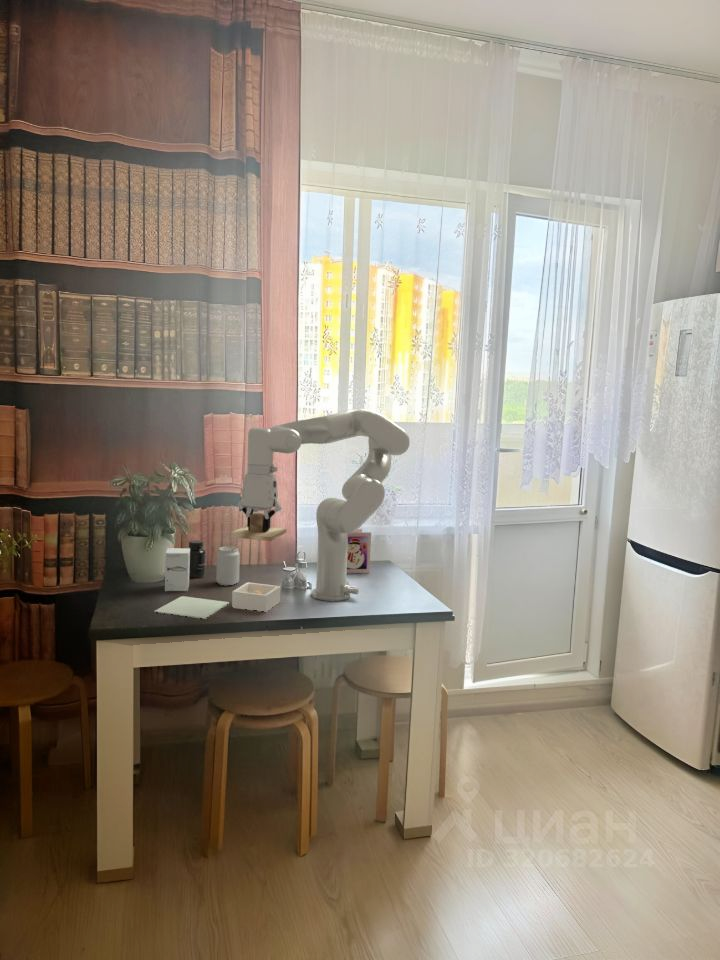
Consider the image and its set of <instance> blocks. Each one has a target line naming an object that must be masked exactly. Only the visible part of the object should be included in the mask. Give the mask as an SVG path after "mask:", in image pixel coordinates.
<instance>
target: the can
mask: <svg viewBox="0 0 720 960" xmlns="http://www.w3.org/2000/svg"><path fill="white" fill-rule="evenodd" d="M240 556H241V555H240V551H239V549H238V548H237V547H235V546H222V547H221V546H220V547H219V548H218V551H217V552H216V577H215V582H217V584H218V585H220V586H223V585H224V587H225V586H226V587H229V586H228V585H232V586H235V585H237V584H238V583H239V582H240V559H241V558H240ZM236 583H237V584H236ZM234 584H235V585H234Z"/></svg>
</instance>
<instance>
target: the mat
mask: <svg viewBox="0 0 720 960" xmlns="http://www.w3.org/2000/svg"><path fill="white" fill-rule="evenodd" d="M227 604H228V605H229V604H230V602H229V601H223V600H214V599H208V598H199V597H198V598H197V597H192V596H186V595H185V596H184V595H182V596H179V597H178V598H176V599H174V600H172V601H170V602H168V603H166V604H164V605H163V606H161V607H160V608H159V607H158V608H157V609H154V613H156V612H158V614H164V613H165V614H164V615H171V614H173V615H172V616H178V615H179V616H180V617H185V616H187V618H194V619H200V618H202V619H203V620H206V619H208V618H209V617H210V615H211V616H212V615H214V614H216V613H217V612H218V611H220V610H222V609H223V608H225V607H226V606H228V605H227ZM221 608H222V609H221ZM179 616H178V617H179ZM207 617H208V618H207ZM202 619H201V620H202Z"/></svg>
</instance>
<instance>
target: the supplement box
mask: <svg viewBox="0 0 720 960" xmlns="http://www.w3.org/2000/svg"><path fill="white" fill-rule="evenodd" d="M165 551H166V552H165V561H164V563H165V566H164V567H165V570H164V592H189V587H190V578H189V569H190V548H189V547H188V548H187V547H185V548H181V547H180V548H179V547H178V548H177V547H172V548H171V547H167V548H166V550H165Z"/></svg>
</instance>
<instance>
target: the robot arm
mask: <svg viewBox="0 0 720 960" xmlns="http://www.w3.org/2000/svg"><path fill="white" fill-rule="evenodd" d="M360 436H361V437H367V438H368V439H367V440H368V443H367V444H368V456H367V458H366V460H365V461H364V462H363V464H361V465H360V467H359V468H358V469H357V470H356V471H355V472H354V473H353V474H352V475H350V476H349V478H348V479H347V480H346V481H345V482H344V484H342V489H341V494H342V497H343V498H344V499H345V500H343V499H339V498H336V497H327V498H325V499H323V500H322V501H321V502H319V504H318V506H317V509H316V515H315V516H316V526H317V553H316V554H317V560H316V582H315V583H316V584H315V588H314V589H312V590H311V592H310V595H311V597H312V598H314V599H316V600H320V601H326V602H339V601H344V600H348V599H349V598H351V594H352V595H358V594H359V588H358V587H357V586H352V585H350V584H349V581H348V580H347V574H348V573H347V550H348V537H347V534H349V533H353V532H355V531H356V530H358V529H361V527H362V526H363V525H364V524H365V523H366V522H367V521H368V520H369V518H370V517H371V516H373V514H374V513H375V512H376V511H377V510H378V509H379V507H381V505H382V504H383V502H384V499H385V496H386V492H385V491H386V490H385V487H384V485H383V481H384V480H385V479H386V478H387V477H388V475H389V474H390V470H391V466H392V456H401V455H403V454H405V453H406V452H407V451H408V449H409V447H410V444H411V443H410V437H409V435H408V432H406V430H404V429H403V428H402V427H400V426H398V425H397V424H396V423H395V422H393V421H392V420H390V419H388V418H387V417H386V416H384V414H381V413H380V412H378V411H376V410H374V409H365V408H354V409H349V410H344V411H340V412H337V413H333V414H329V415H328V414H327V415H323V416H316V417H313V418H308V419H302V420H296V421H289V422H286V423H281V424H279V425H278V424H277V425H275V426H272V427H270V428H266V427H252V428H250V429H248V433H247V464H246V465H247V469H246V470H247V471H246V473H244V477H243V483H242V491H241V498H240V499H239V501H238V502H237V503H236V507H238V508H239V509H240V510H241V511H242V512H243V513H244V515H245V517H246V518H247V519H246V520H247V524H246V526H247V527H248V530H249V531H250V515H252V514H254V513H255V509H261V510H262V509H263V514H264V515H265V519H263V532H267V531H269V529H270V527H271V518H272V517H273V516H274V515H276V514H277V513H278V512H279V511H281V510H282V508H283V507H282V506H281V504H280V502H279V499H278V497H279V495H278V494H279V493H278V492H279V490H278V482H277V477H276V474H274V473H276V472H278V467H276V466H274V453H279V454H293V453H295V452H297V451H298V450H300V447H301V446H302V445H306V444H318V445H324V444H331V443H335V442H339V441H342V440H347V439H350V438H355V437H360ZM272 508H273V509H272Z"/></svg>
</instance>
